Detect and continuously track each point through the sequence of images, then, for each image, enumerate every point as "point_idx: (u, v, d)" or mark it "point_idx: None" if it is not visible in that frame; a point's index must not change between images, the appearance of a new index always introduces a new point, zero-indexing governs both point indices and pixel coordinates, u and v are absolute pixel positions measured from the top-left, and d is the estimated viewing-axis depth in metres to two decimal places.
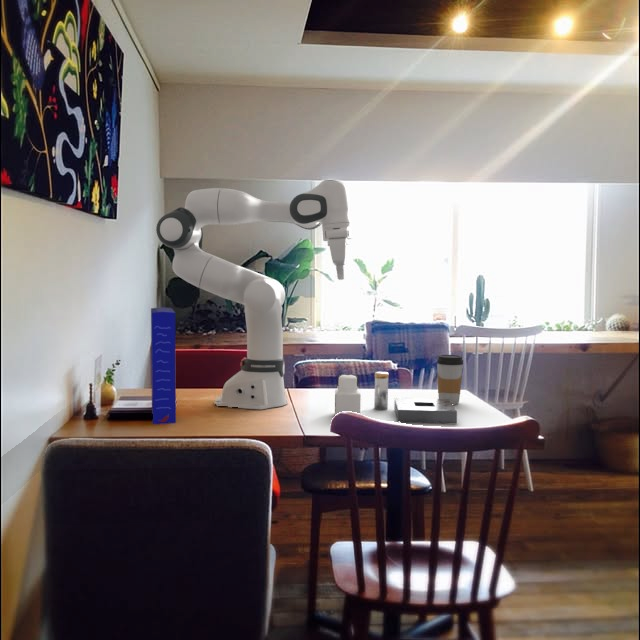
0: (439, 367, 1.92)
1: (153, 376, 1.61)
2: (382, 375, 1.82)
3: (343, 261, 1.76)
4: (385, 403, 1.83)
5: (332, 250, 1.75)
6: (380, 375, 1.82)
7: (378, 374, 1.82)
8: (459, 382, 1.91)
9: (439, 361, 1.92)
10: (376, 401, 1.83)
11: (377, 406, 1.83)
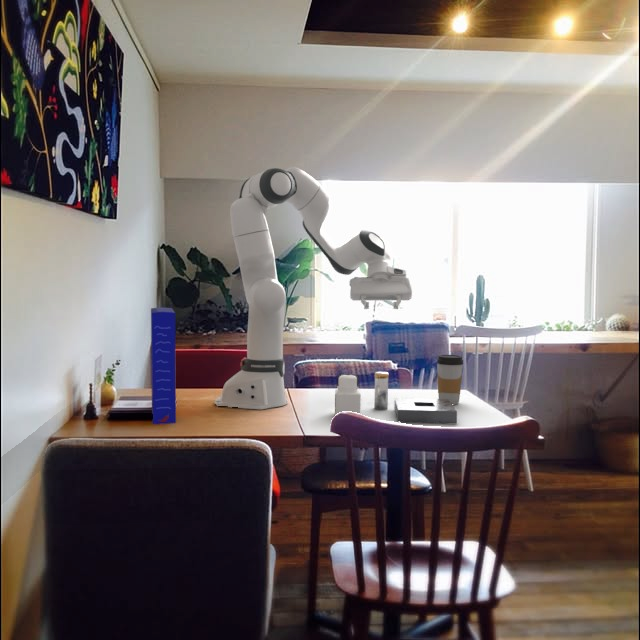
0: (439, 367, 1.92)
1: (153, 376, 1.61)
2: (382, 375, 1.82)
3: (410, 298, 2.00)
4: (385, 403, 1.83)
5: (410, 285, 2.00)
6: (380, 375, 1.82)
7: (378, 374, 1.82)
8: (459, 382, 1.91)
9: (439, 361, 1.92)
10: (376, 401, 1.83)
11: (377, 406, 1.83)
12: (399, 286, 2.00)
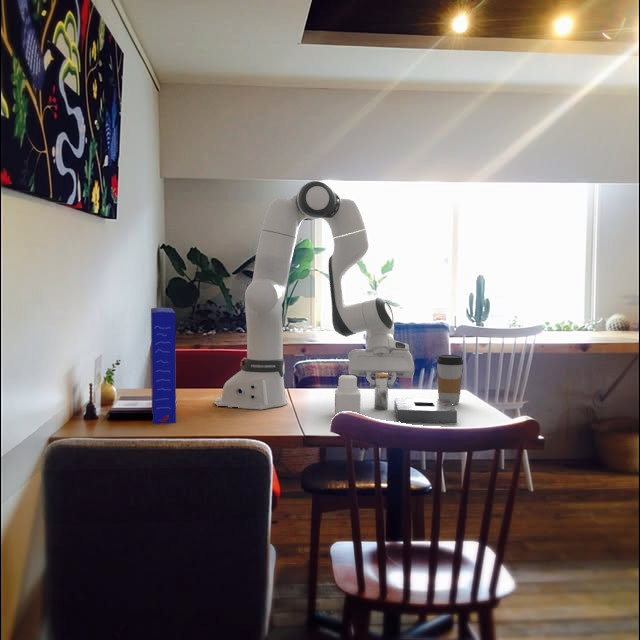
0: (439, 367, 1.92)
1: (153, 376, 1.61)
2: (382, 375, 1.82)
3: (412, 375, 1.87)
4: (386, 403, 1.83)
5: (413, 361, 1.87)
6: (380, 375, 1.82)
7: (378, 374, 1.82)
8: (459, 382, 1.91)
9: (439, 361, 1.92)
10: (376, 401, 1.83)
11: (377, 406, 1.83)
12: (401, 362, 1.87)
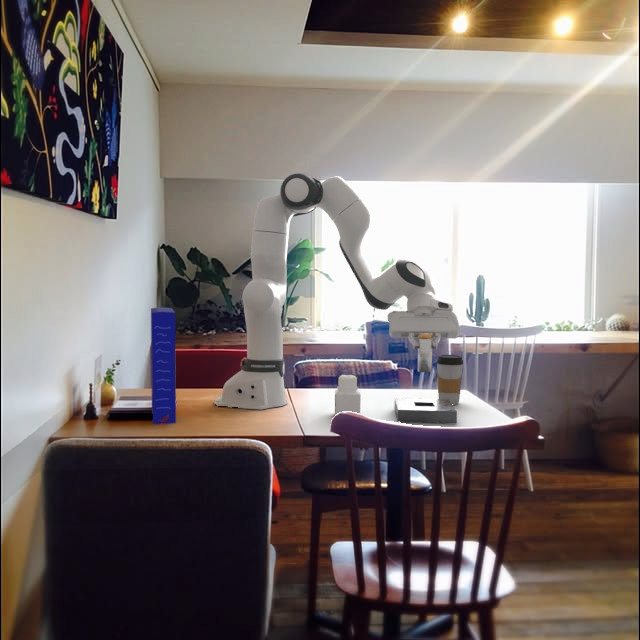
0: (439, 367, 1.92)
1: (153, 376, 1.61)
2: (427, 335, 1.72)
3: (457, 336, 1.77)
4: (430, 366, 1.73)
5: (457, 321, 1.77)
6: (424, 335, 1.72)
7: (422, 334, 1.72)
8: (459, 382, 1.91)
9: (439, 361, 1.92)
10: (420, 363, 1.73)
11: (421, 369, 1.73)
12: (445, 322, 1.77)
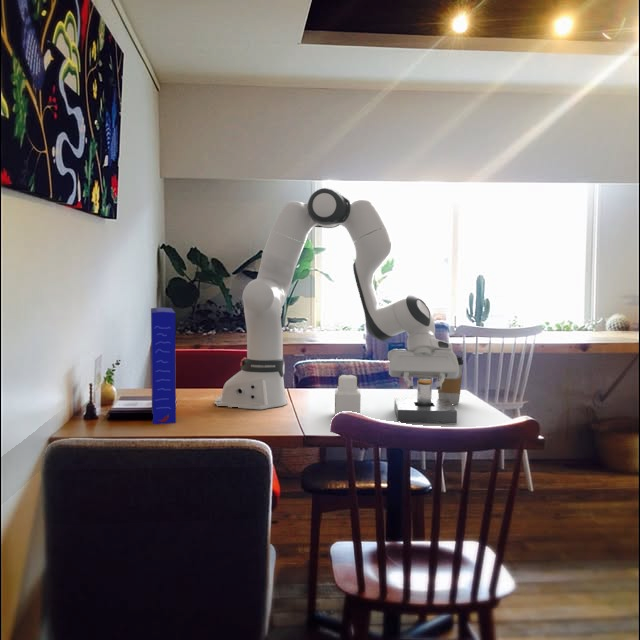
0: None
1: (153, 376, 1.61)
2: (426, 381, 1.72)
3: (456, 376, 1.77)
4: None
5: (457, 361, 1.77)
6: (424, 381, 1.72)
7: (421, 380, 1.72)
8: (459, 382, 1.91)
9: None
10: None
11: None
12: (444, 362, 1.77)
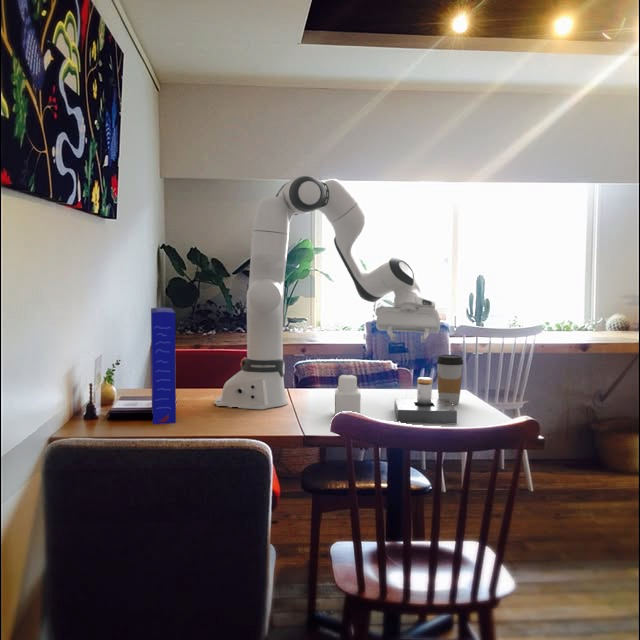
0: (439, 367, 1.92)
1: (153, 376, 1.61)
2: (426, 381, 1.72)
3: None
4: None
5: (439, 318, 1.93)
6: (424, 381, 1.72)
7: (421, 380, 1.72)
8: (459, 382, 1.91)
9: (439, 361, 1.92)
10: None
11: None
12: (427, 318, 1.93)
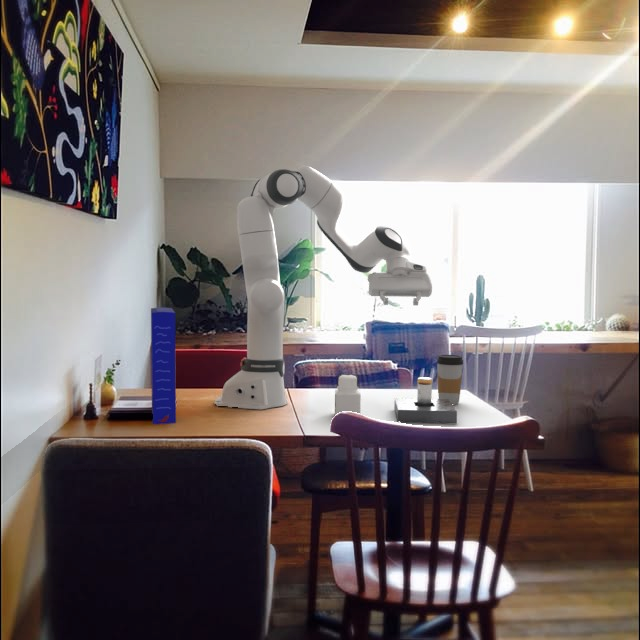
0: (439, 367, 1.92)
1: (153, 376, 1.61)
2: (426, 381, 1.72)
3: None
4: None
5: (430, 281, 1.96)
6: (424, 381, 1.72)
7: (421, 380, 1.72)
8: (459, 382, 1.91)
9: (439, 361, 1.92)
10: None
11: None
12: (419, 282, 1.96)
